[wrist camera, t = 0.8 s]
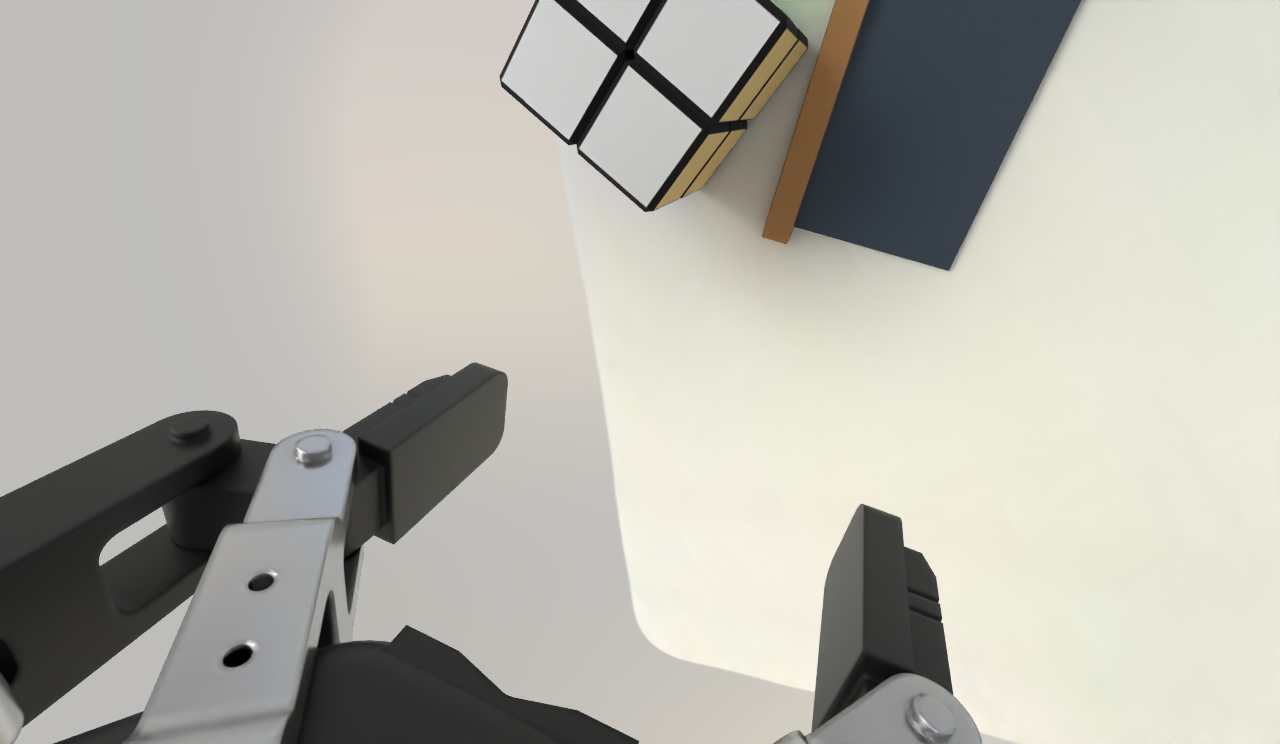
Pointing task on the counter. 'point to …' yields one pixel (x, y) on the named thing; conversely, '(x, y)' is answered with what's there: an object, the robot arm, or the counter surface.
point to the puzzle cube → (651, 83)
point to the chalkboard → (912, 120)
